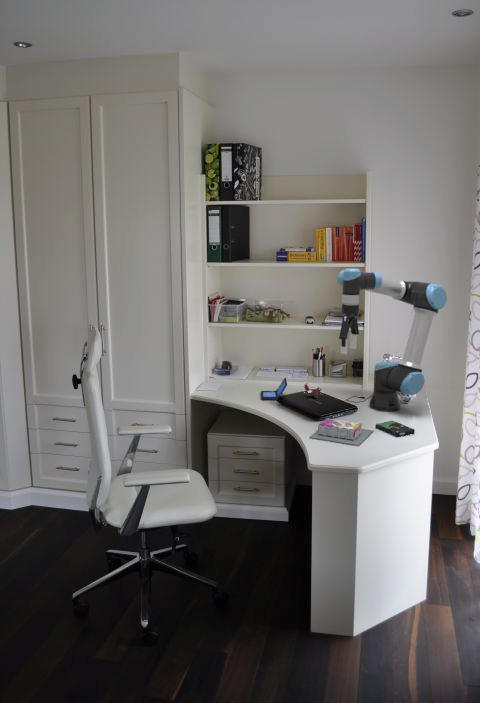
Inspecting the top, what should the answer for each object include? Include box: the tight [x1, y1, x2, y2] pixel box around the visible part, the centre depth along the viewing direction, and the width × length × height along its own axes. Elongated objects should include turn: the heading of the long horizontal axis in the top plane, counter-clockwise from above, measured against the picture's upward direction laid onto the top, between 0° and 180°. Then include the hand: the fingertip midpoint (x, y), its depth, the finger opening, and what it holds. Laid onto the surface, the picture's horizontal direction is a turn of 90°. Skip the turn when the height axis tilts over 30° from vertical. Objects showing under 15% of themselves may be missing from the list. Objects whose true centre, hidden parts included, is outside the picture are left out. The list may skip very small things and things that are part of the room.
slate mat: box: [308, 428, 374, 447], centre depth 295 cm, size 22×22×1 cm
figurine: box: [303, 382, 324, 395], centre depth 355 cm, size 15×12×7 cm
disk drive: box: [374, 420, 416, 438], centre depth 301 cm, size 10×3×15 cm
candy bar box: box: [317, 417, 363, 440], centre depth 294 cm, size 11×5×16 cm
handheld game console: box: [260, 377, 288, 402], centre depth 356 cm, size 16×13×9 cm
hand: (348, 351), depth 302 cm, fingers open, 13 cm apart
